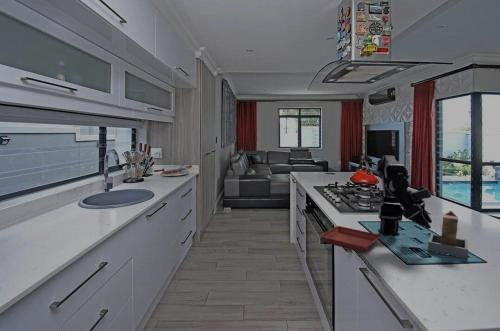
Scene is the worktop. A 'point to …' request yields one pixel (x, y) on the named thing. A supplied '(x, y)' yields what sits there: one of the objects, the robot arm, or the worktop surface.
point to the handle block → (449, 230)
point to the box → (448, 246)
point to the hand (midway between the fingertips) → (430, 225)
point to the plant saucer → (350, 238)
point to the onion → (450, 214)
